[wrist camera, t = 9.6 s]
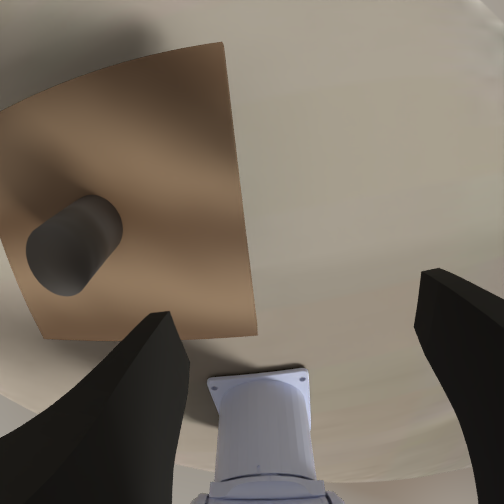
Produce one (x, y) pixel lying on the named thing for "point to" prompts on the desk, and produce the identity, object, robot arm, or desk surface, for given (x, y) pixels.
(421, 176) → the desk surface
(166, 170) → the walnut lid
